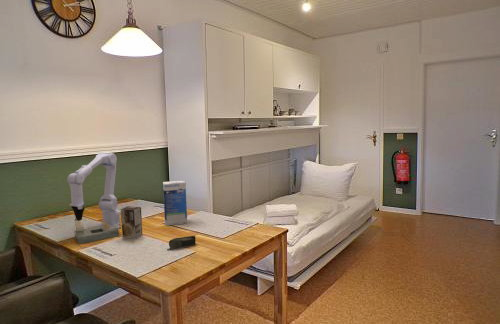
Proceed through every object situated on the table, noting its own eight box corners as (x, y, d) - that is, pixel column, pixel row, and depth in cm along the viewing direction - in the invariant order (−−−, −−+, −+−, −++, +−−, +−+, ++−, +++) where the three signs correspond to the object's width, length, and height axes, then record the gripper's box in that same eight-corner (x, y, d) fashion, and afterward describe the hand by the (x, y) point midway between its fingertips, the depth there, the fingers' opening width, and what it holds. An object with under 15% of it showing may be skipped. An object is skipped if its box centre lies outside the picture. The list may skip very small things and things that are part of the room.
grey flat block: (112, 229, 201) (112, 223, 201) (118, 236, 190) (118, 229, 190) (74, 236, 190) (74, 230, 189) (79, 244, 178) (78, 237, 178)
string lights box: (185, 220, 218) (184, 180, 215) (187, 223, 211) (186, 182, 208) (164, 222, 214) (162, 181, 211) (165, 226, 207) (163, 183, 204)
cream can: (83, 228, 192) (81, 216, 191) (84, 230, 189) (83, 218, 188) (75, 230, 190) (73, 218, 189) (76, 232, 186) (75, 219, 186)
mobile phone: (194, 234, 177) (165, 239, 170) (196, 236, 175) (167, 241, 167) (194, 243, 178) (165, 249, 170) (196, 245, 175) (167, 251, 168)
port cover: (117, 225, 198) (116, 219, 198) (121, 228, 192) (120, 223, 191) (103, 227, 194) (103, 222, 193) (106, 231, 187) (106, 225, 187)
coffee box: (143, 235, 191) (141, 206, 189) (135, 239, 185) (134, 209, 183) (129, 233, 194) (127, 205, 192) (121, 237, 188) (120, 208, 186)
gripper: (66, 193, 190) (68, 217, 192) (70, 198, 178) (72, 223, 180) (80, 192, 194) (82, 215, 196) (85, 196, 182) (87, 221, 184)
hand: (78, 219), depth 188 cm, fingers open, 4 cm apart
